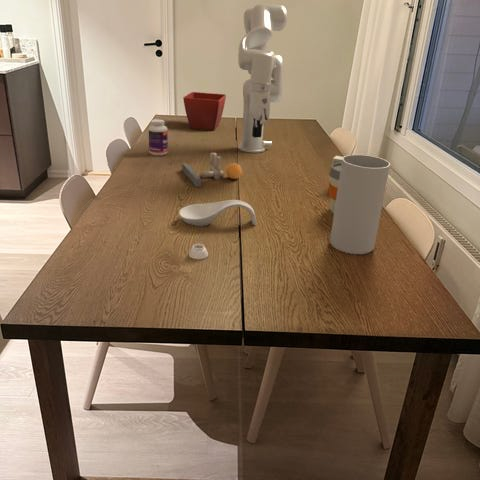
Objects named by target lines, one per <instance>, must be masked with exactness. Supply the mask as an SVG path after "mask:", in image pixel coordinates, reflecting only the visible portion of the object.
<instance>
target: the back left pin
mask: <svg viewBox="0 0 480 480" xmlns="http://www.w3.org/2000/svg"><path fill="white" fill-rule="evenodd" d="M221 160H222V157H221V156H217V155H216V157H214V177H213V180H216V181H219V180H221V177H220V171H221V164H222V162H221Z"/></svg>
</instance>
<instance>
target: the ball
mask: <svg viewBox="0 0 480 480" xmlns="http://www.w3.org/2000/svg"><path fill="white" fill-rule="evenodd" d="M225 172H226V175H227V176H228V177H229V178H230V179H232V180H236V179H238V178H240V177H241V175H242V173H243V169H242V167H241V165H239V164H238V163H236V162H235V163H234V162H233V163H230V164H228V165H227V167H226V171H225Z"/></svg>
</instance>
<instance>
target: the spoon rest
mask: <svg viewBox="0 0 480 480" xmlns="http://www.w3.org/2000/svg"><path fill="white" fill-rule="evenodd" d="M234 207H239V208H242V209H245V210H246V211H247V212H249V215H250V220H251V223H252V225H253V226H256V225H257V217H256V214H255V210H254V209H253V207H252V206H251V205H250V204H249V203H247V202H246V201H243V200H239V199H228V200H222V201H216V202H208V203H195V204H190V205H185V206H184V207H182V208H180V209H179V211H178V216H179V218H180V219H181V220H182V221H183V222H185V223H186V224H188V225H191V226H194V225H195V227H204V226H203V225H206V226H208V225H210V224H211V223H212V222H213V221H214V220H216V219H217V218H218V217H219V216H220V215H221V214H222V213H224V212H225V211H227V210H228V209H231V208H234Z"/></svg>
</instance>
